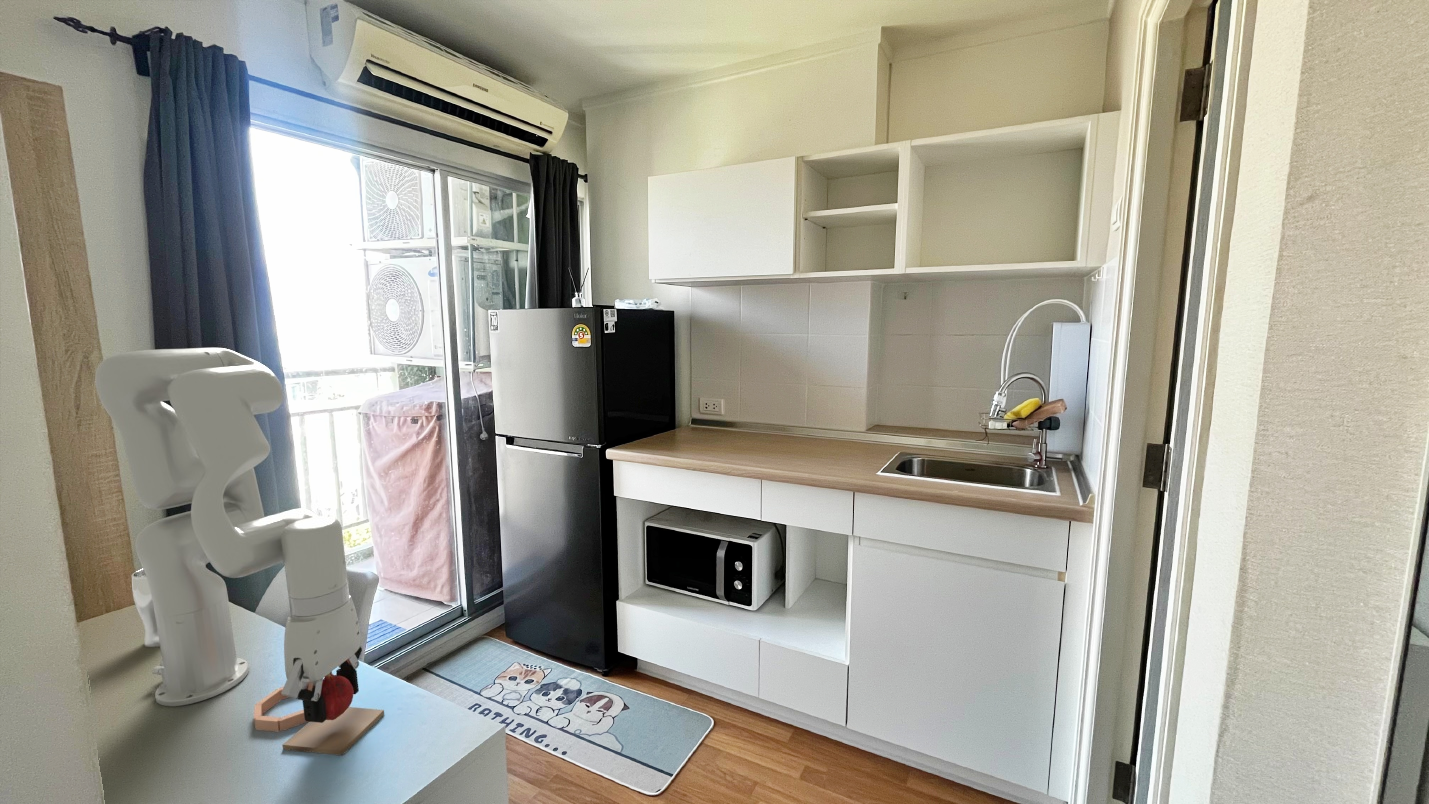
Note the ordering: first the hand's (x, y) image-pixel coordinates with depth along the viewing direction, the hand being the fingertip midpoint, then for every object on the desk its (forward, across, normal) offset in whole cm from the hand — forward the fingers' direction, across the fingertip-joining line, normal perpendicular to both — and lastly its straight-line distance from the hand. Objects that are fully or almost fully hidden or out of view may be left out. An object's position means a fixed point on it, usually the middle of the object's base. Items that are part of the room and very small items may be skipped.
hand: (332, 705), depth 90 cm
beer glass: (+5, -20, -56) cm, 60 cm away
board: (+5, 0, 0) cm, 5 cm away
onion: (+3, 0, 0) cm, 3 cm away
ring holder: (+4, -4, -11) cm, 13 cm away
